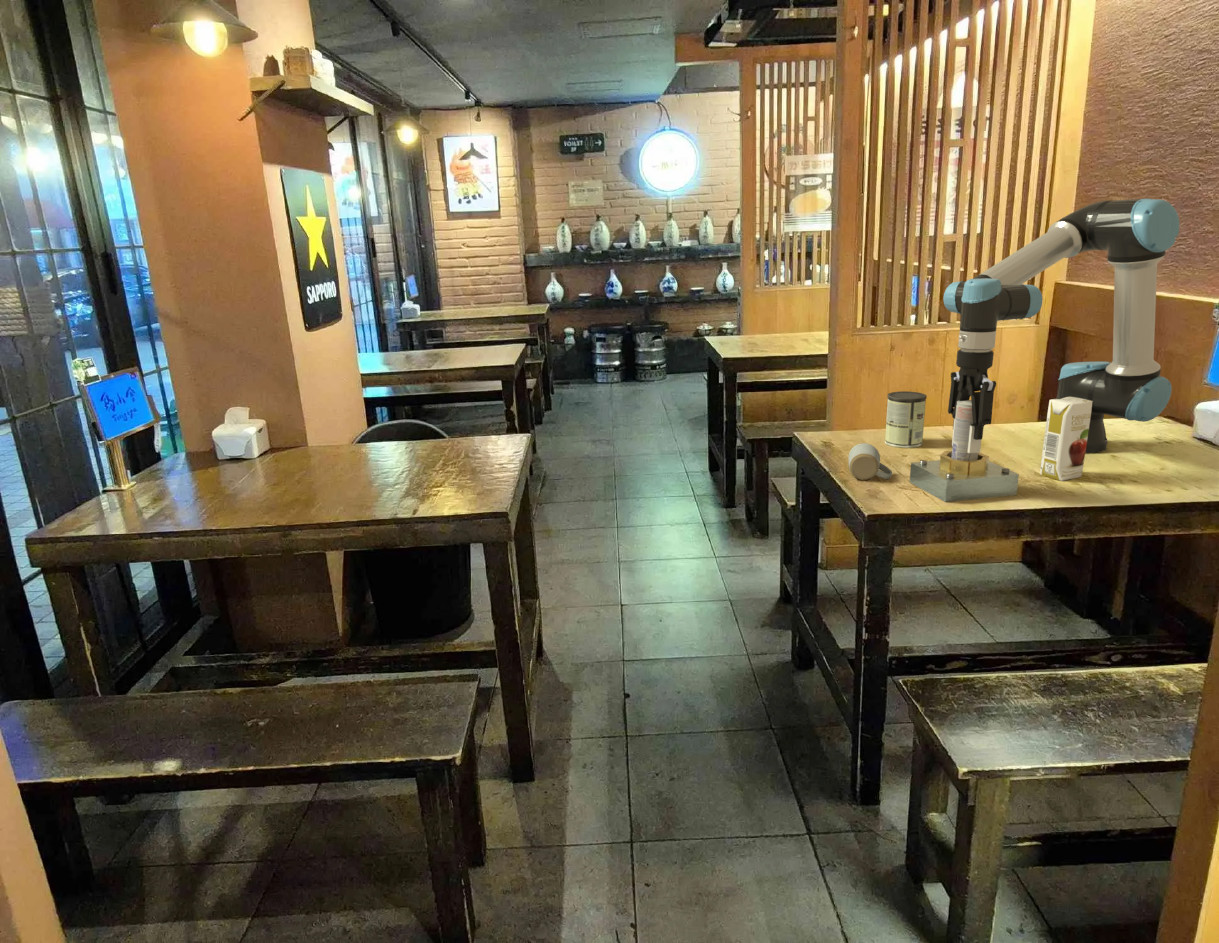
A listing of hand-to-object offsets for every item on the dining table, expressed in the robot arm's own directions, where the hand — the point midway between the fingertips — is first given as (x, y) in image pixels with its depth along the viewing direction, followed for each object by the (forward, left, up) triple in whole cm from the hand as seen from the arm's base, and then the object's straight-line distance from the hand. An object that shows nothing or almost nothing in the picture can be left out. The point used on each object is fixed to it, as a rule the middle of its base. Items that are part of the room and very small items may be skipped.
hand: (965, 448), depth 188 cm
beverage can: (0, 0, -4) cm, 4 cm away
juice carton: (-28, -2, -10) cm, 30 cm away
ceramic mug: (+16, -15, -10) cm, 24 cm away
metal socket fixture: (0, 0, -10) cm, 10 cm away
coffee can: (-8, -40, -10) cm, 42 cm away
